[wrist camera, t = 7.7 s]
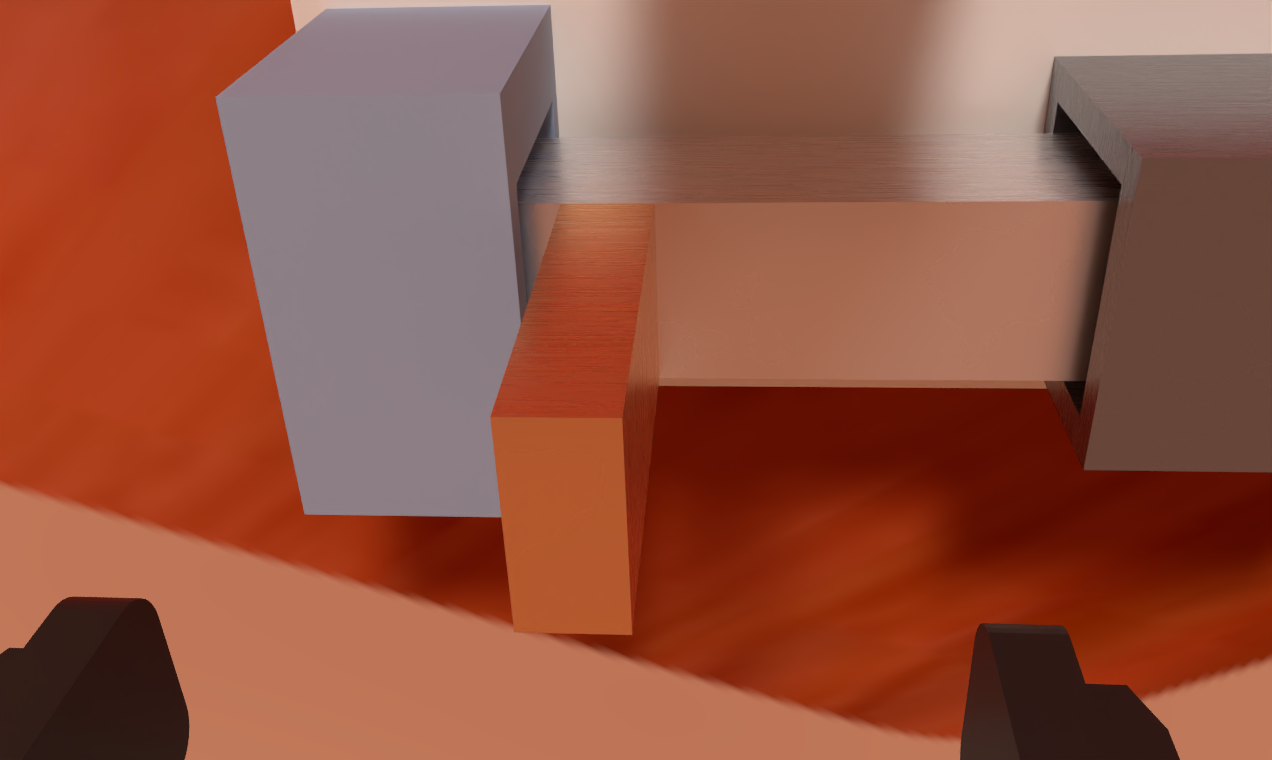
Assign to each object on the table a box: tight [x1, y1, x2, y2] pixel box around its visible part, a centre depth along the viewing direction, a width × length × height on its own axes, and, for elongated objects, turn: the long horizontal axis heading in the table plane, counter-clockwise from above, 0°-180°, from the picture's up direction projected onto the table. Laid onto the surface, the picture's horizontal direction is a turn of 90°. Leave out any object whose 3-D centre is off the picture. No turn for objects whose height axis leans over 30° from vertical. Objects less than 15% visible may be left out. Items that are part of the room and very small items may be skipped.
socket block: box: [215, 5, 559, 517], centre depth 20 cm, size 4×7×5 cm, turn 2°
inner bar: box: [490, 133, 1122, 635], centre depth 17 cm, size 12×3×9 cm, turn 92°
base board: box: [291, 0, 1272, 389], centre depth 22 cm, size 21×8×2 cm, turn 92°
